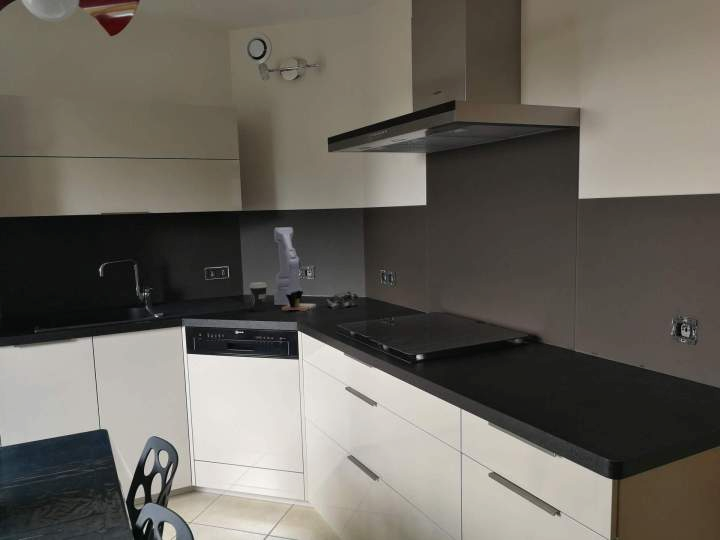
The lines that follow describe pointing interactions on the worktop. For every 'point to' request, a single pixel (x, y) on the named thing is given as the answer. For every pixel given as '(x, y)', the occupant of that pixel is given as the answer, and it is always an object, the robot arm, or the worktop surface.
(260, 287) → the coffee cup
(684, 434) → the worktop surface
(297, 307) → the stub
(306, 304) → the pad
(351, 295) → the foil
